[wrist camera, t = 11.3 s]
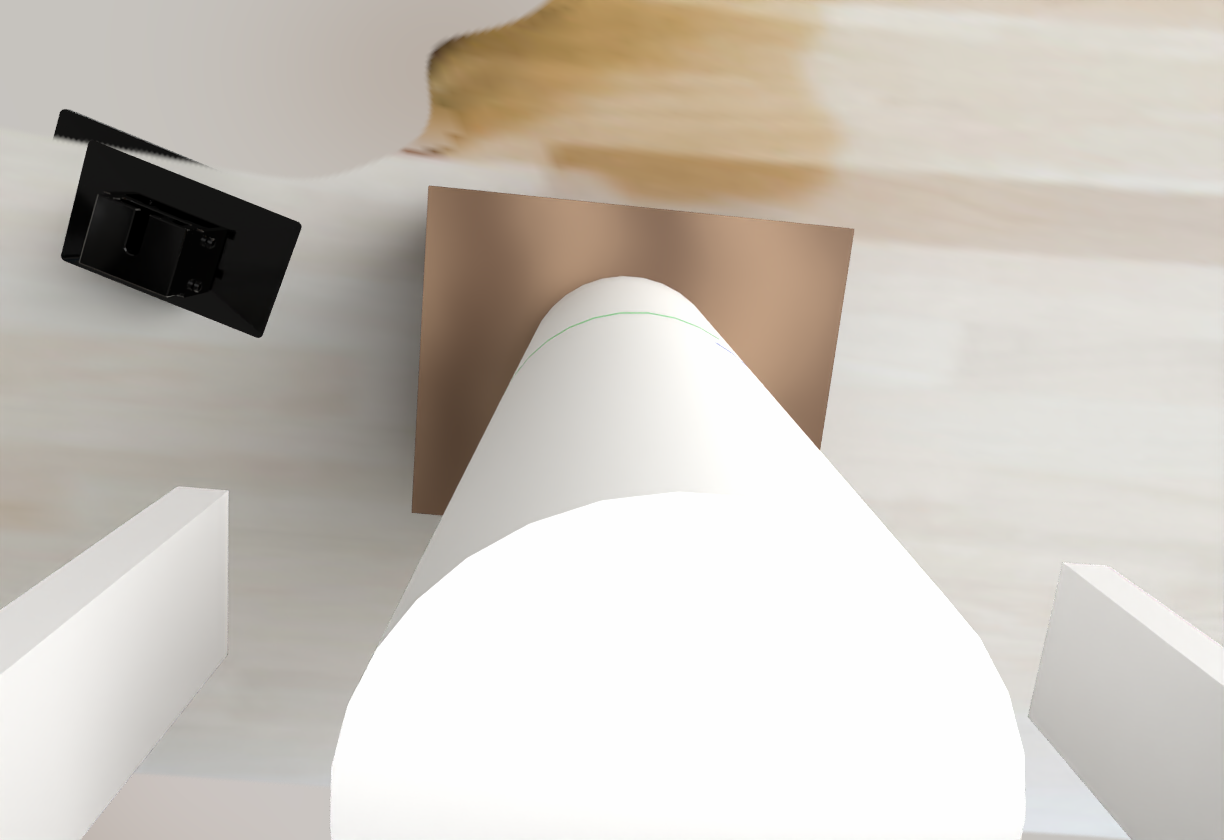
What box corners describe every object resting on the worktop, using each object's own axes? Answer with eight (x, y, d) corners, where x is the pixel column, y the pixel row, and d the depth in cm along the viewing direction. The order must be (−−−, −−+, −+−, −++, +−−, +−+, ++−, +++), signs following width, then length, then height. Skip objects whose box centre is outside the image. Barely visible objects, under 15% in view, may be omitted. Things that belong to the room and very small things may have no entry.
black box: (342, 220, 41) (311, 223, 36) (291, 371, 42) (254, 392, 38) (65, 106, 40) (-3, 95, 35) (23, 266, 41) (-47, 274, 37)
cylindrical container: (625, 506, 35) (677, 1206, 11) (485, 377, 34) (185, 833, 10) (762, 372, 34) (1169, 814, 10) (622, 233, 33) (679, 335, 8)
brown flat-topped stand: (445, 455, 43) (411, 512, 35) (461, 188, 40) (428, 185, 32) (767, 484, 43) (804, 547, 36) (805, 223, 41) (854, 229, 33)
